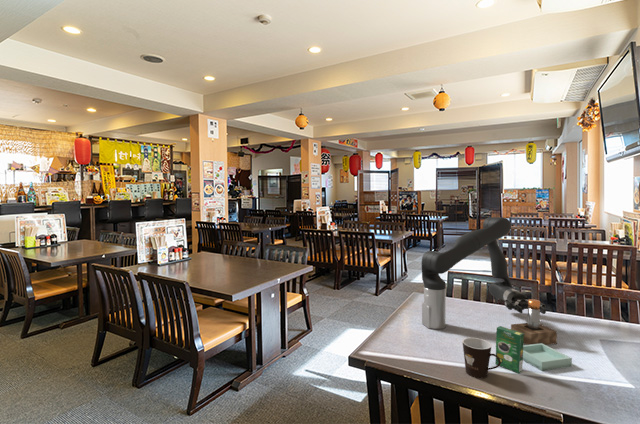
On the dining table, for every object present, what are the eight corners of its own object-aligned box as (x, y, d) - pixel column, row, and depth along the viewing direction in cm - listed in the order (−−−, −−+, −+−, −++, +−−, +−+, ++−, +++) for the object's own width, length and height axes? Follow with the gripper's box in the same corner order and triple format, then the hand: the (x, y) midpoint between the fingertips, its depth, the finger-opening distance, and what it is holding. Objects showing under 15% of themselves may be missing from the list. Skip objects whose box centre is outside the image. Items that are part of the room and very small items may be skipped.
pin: (533, 342, 134) (533, 302, 133) (524, 338, 138) (525, 299, 137) (541, 341, 134) (542, 301, 134) (533, 337, 138) (534, 298, 138)
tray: (541, 370, 112) (541, 362, 112) (513, 354, 124) (514, 346, 124) (571, 366, 114) (571, 358, 114) (541, 351, 126) (541, 343, 126)
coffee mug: (457, 367, 115) (457, 338, 114) (481, 366, 116) (481, 337, 115) (475, 386, 103) (476, 354, 103) (502, 384, 104) (503, 352, 104)
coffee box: (524, 371, 112) (524, 332, 111) (519, 374, 110) (520, 334, 109) (499, 362, 118) (499, 325, 118) (495, 364, 117) (495, 327, 116)
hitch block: (530, 346, 130) (530, 334, 130) (510, 336, 140) (511, 324, 139) (556, 343, 132) (556, 331, 132) (535, 333, 142) (535, 321, 142)
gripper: (498, 290, 153) (514, 301, 137) (532, 291, 151) (552, 302, 135) (498, 306, 153) (513, 319, 137) (532, 307, 151) (552, 321, 135)
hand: (532, 311), depth 136 cm, fingers open, 8 cm apart
